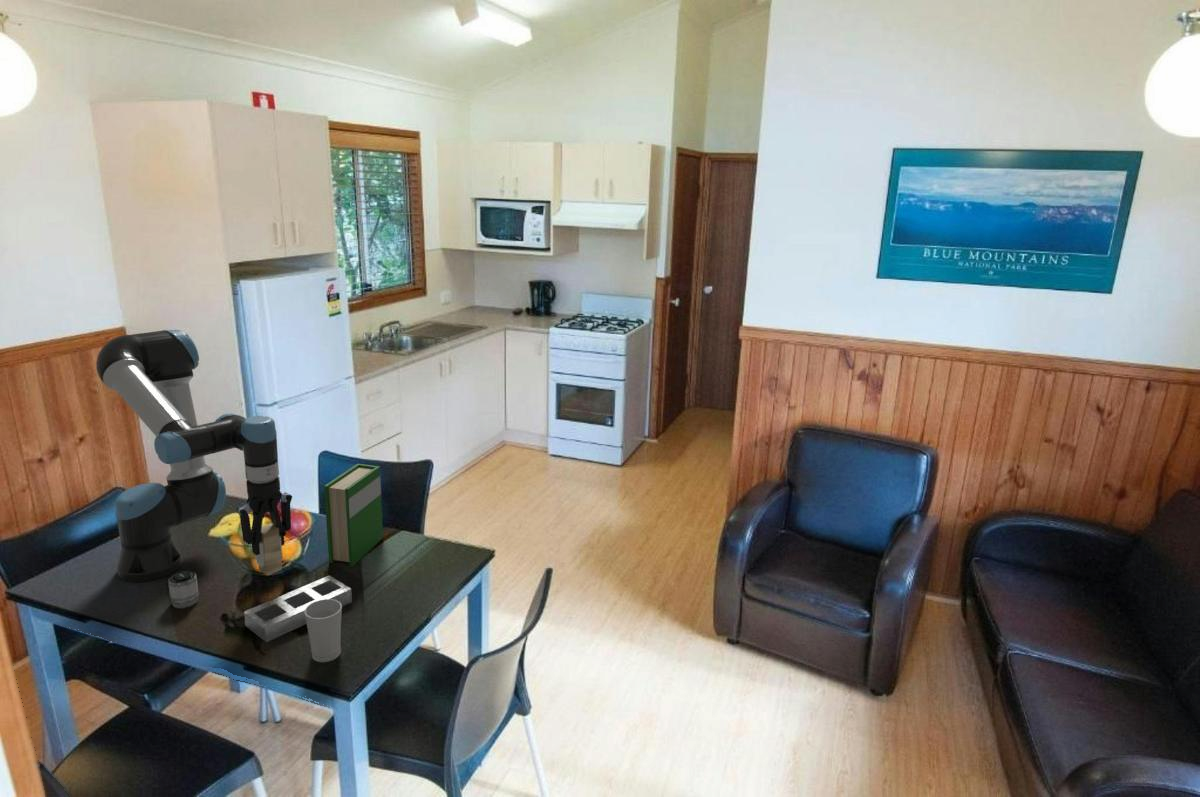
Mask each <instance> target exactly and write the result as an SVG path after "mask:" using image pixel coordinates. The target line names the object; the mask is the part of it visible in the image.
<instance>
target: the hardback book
mask: <svg viewBox="0 0 1200 797" xmlns="http://www.w3.org/2000/svg"><path fill="white" fill-rule="evenodd" d="M381 485H382V484H381V466H379V465H371V464H364V463H363V464H362V463H356V464H354V465H353V466H352V467H350V468H349V469H347V470H346V471H344V472H342V473H341V474H340V475H338V476H337V477H335V478H334V479H332V480H331V481H329V482H328V483H326V484H325V485H323V491H324V492H323V493H324V505H325V507H324V508H325V519H326V534H327V536H326V537H327V553H328V563H329V564H330V563H335V562H334V561H337V562H338V561H340V562H347V563H348V564H349V565H348V566H350V567H353V566H354V565H355V564H357V563H358V562H359V561H360V560H361V559H362V558H363V557H365V555H367V554H368V552H370V551H371V550H372V549H373V548H374V547H375V546H376V545H377V544H378V543H380V542H381V540H383V538H384V536H383V535H384V531H383V529H384V528H383V527H384V526H383V511H382V510H383V507H382V486H381Z"/></svg>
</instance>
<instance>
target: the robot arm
mask: <svg viewBox="0 0 1200 797" xmlns="http://www.w3.org/2000/svg"><path fill="white" fill-rule="evenodd" d="M199 362H200V356H199V351H198V348H197V346H196V344H195V342H194V341H193V339H192V337H191V336H189V335H188V333H187V332H185V331H184V330H180V329H163V330H157V331H150V332H149V331H148V332H142V333H134V334H123V335H119V336H116V337H114V338H112V339H110V340H109V341H107V342H106V343H105V344H104V345H103V346H102V347H101V349H100V351H99V352H98V355H97V358H96V362H95V364H96V365H95V366H96V373H97V375H98V377H99V379H100V380H101V382H102V383H103V384H104V386H106V387H107V388H108V390H109V389H110V390H112V391H114V392H117V393H118V395H119V396H120V397H121V398H122V399H123V401H124V402H125V403H126V404H127V405H128V406H129V407H130V408H131V409H132V411H133V412H134V413H135V414H136V415H137V417H138V418H140V420H141V421H142V422H143V423H144V424H145V426H146V427H147V428H148V429H149V430H150V431H151V433H152V434H153V435H154V436H155V439H154V444H153V446H154V451H155V453H156V455H157V457H158V459H159V461H160V462H162V463H163V464H165V465H169V467H170V472H169V473H168V475H167V476H166V482H167V485H164V484H162V483H160V482H159V483H158V482H149V483H142V484H138V485H135V486H132V487H130V488H128V489H126V490H124V491H122V492H121V493H120V494H119V495H118V497H117V498H116V499H115V501H114V502H115V504H114V505H115V518H116V521H117V526H118V528H117V529H118V533H119V540H120V545H121V548H120V549H121V550H120V554H119V556H118V561H117V566H116V570H117V572H116V573H117V577H118V578H119V579H120V580H122V581H125V582H131V583H141V582H143V583H145V582H149V581H153V580H158V579H161V578H164V577H167V576H168V575H170V574H172V573H174V572H175V571H177V570H179V568H180V567H181V566H182V564H183V559H182V558H183V557H182V554H181V551H180V550H179V547H177V545H176V543H175V541H174V540H173V538H172V534H171V528H175V527H176V526H180V525H183V524H187V523H189V522H192V521H195V520H198V519H199V520H200V519H201V518H207V517H209V516H210V515H213V514H215V513H217V512H219V511H221V510H222V509H223V507H224V506H225V503H226V498H227V489H226V483H225V481H223V477H222V475H220V473H218V472H215V471H214V470H213V467H212V466H209V465H208V464H206V459H205V456H209V455H213V454H216V453H220V452H224V451H227V450H232V449H238V450H240V451H242V452H243V458H244V460H243V461H244V470H245V478H246V481H245V482H246V492H247V500H246V504H244V505H243V506H241V507H240V506H238V507H236V512H237V514H238V515H239V520H240V528H241V535H242V540H243V542H244V543H246V544H247V545H251V550H252V552H251V553H253V555H255V558H256V560H255V561H256V564H258V566H259V565H261V566H265V561H264V549H263V543H262V542H261V541H260V536H261V529H262V526H263V519H264V518H265V514H267V513H269V515H270V518H271V521H272V524H273V525H274V526H276V527H277V528H279V538H280V551H281V560H283V559H284V558H283V546H285V536H287V531H288V532H290V531H291V529H292V518H291V517H292V516H291V513H292V512H291V502H292V499H293V496H292V494H289V493H288V492H283V493H282V492H281V482H280V476H279V475H280V470H279V467H280V466H279V459H278V457H279V456H278V453H279V452H278V439H277V437H278V436H277V435H278V434H277V428H276V422H275V420H274V419H273V418H272V417H270V416H263V415H254V416H249V417H247V418H246V417H244V416H241V415H238V414H235V413H224V414H222V415H220V416H218V418H216V419H215V421H212V422H207V423H203V424H199V425H198V421H197V416H196V412H195V407H194V406H195V405H194V403H193V402H194V401H193V398H192V392H191V388H190V381H191V380H192V379H193V377H194V371H193V370H195V369H196V368H198V366H199V364H200V363H199ZM279 503H280V511H279V508H278V505H279ZM250 509H251V510H252V522H251V520H250V519H251V518H250V516H249V515H250ZM279 512H280V514H281V515H280V514H279ZM280 516H281V517H280ZM251 523H252V524H251Z"/></svg>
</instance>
